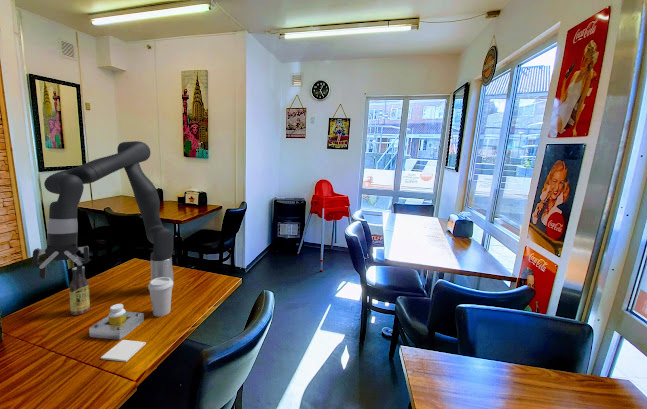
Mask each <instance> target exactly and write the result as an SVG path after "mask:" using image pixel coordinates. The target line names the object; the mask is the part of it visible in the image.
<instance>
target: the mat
mask: <svg viewBox="0 0 647 409" xmlns="http://www.w3.org/2000/svg"><path fill="white" fill-rule="evenodd" d="M146 344H147V341H146V342H145V341H138V340H127V339H121V341H119V342H118V343H117V344H116V345H115V346H113V347H111V349H109V350H108V351H107V352H105V353H104V354H103V355H102V356H101V357H100V359H101V360H108V361H118V362H125V363H126V362H128V361H129V360H130V359H131V358H132V357H133V356H134V355H136V354H137V352H139V351H140V350H141V349H143V347H144V346H145V345H146Z"/></svg>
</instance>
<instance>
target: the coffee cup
mask: <svg viewBox="0 0 647 409" xmlns="http://www.w3.org/2000/svg"><path fill="white" fill-rule="evenodd" d="M173 284H174V280H173V281H172V280H171V278H169V277H159V278H155V279H153V280H151V279H150V281H149V283H148V285H147V289H148V290H149V296H150V302H151V308H152V309H151V310H152V315H153V316H154V317H157V318H158V317H160V318H161V317H165V316H166V315H168V314H169V313H171V304H172V295H173V294H172V293H173V292H172V291H173V288H172V285H173Z"/></svg>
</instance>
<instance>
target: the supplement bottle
mask: <svg viewBox="0 0 647 409" xmlns="http://www.w3.org/2000/svg"><path fill="white" fill-rule="evenodd" d="M109 309H110V311H109V313H108V316H109V325H115V326H119V325H121V324H122V323H123V322H125V321H126V312H127V311H126V309H125V308H124V304H122V303H116V304H114V305H111V306H110V308H109Z"/></svg>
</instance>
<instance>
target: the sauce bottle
mask: <svg viewBox="0 0 647 409" xmlns="http://www.w3.org/2000/svg"><path fill="white" fill-rule="evenodd" d="M85 270H86V267H85V266H83V267H82V273H81V274H80V275H79V276H77V266H74V267H72V268H71V272H72V280H71V281H70V284H69V286H68V287H69V290H68V292H69V309H70V314H71V315H73V316H77V315H78V316H79V315H83V314H86V313H87V312H88V311H90V309H91V308H90V306H91V302H90V301H91V300H90V299H91V298H90V284H89V282H88V279H87V278H86V274H85Z"/></svg>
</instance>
